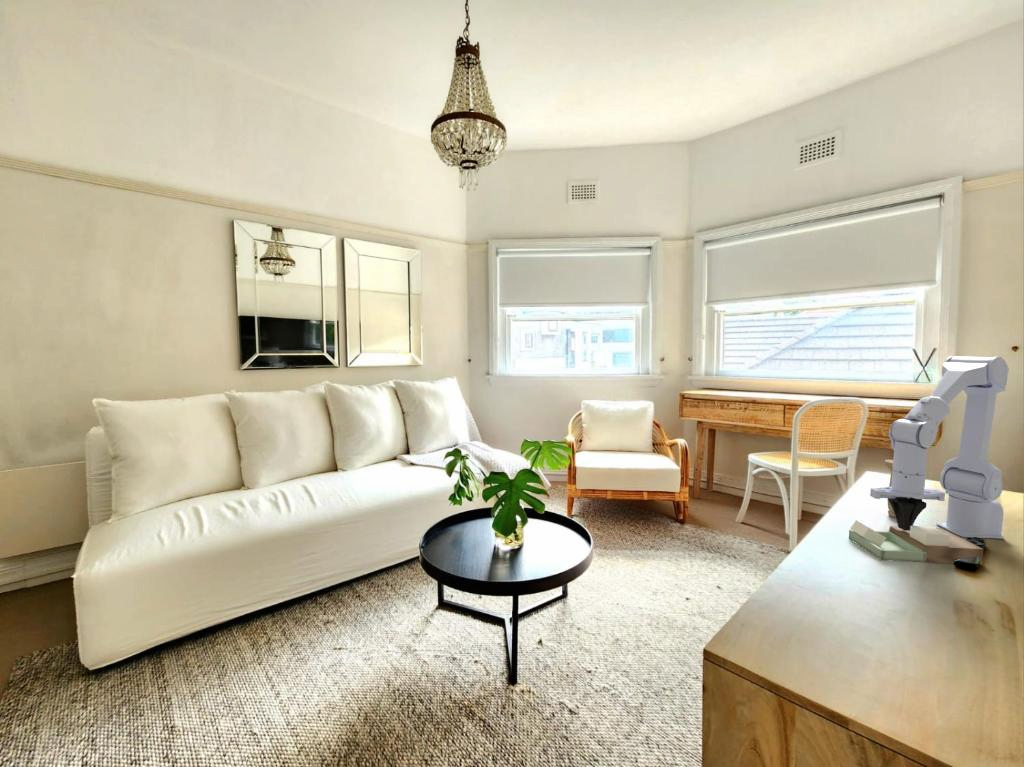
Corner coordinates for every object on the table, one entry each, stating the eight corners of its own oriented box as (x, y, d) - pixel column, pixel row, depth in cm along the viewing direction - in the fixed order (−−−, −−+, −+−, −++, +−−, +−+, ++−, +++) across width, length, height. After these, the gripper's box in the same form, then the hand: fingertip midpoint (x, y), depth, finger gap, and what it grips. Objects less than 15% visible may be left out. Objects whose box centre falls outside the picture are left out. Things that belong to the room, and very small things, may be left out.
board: (938, 542, 107) (940, 527, 107) (981, 564, 96) (983, 548, 96) (888, 540, 108) (890, 525, 108) (925, 562, 97) (927, 546, 97)
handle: (908, 522, 119) (912, 466, 117) (878, 514, 124) (881, 461, 122) (913, 518, 121) (918, 463, 120) (884, 510, 127) (888, 458, 125)
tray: (888, 540, 108) (889, 531, 108) (925, 562, 97) (926, 552, 97) (848, 538, 109) (849, 529, 109) (880, 560, 98) (881, 550, 98)
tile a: (856, 520, 108) (850, 528, 108) (869, 527, 103) (862, 536, 104) (872, 529, 108) (866, 538, 108) (886, 538, 103) (880, 546, 103)
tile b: (931, 537, 102) (932, 526, 101) (948, 546, 97) (949, 534, 97) (909, 536, 102) (910, 525, 102) (925, 545, 98) (926, 534, 97)
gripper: (887, 476, 100) (882, 534, 101) (958, 477, 99) (953, 537, 100) (865, 467, 107) (862, 522, 108) (932, 468, 106) (927, 524, 107)
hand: (904, 528), depth 105 cm, fingers closed
